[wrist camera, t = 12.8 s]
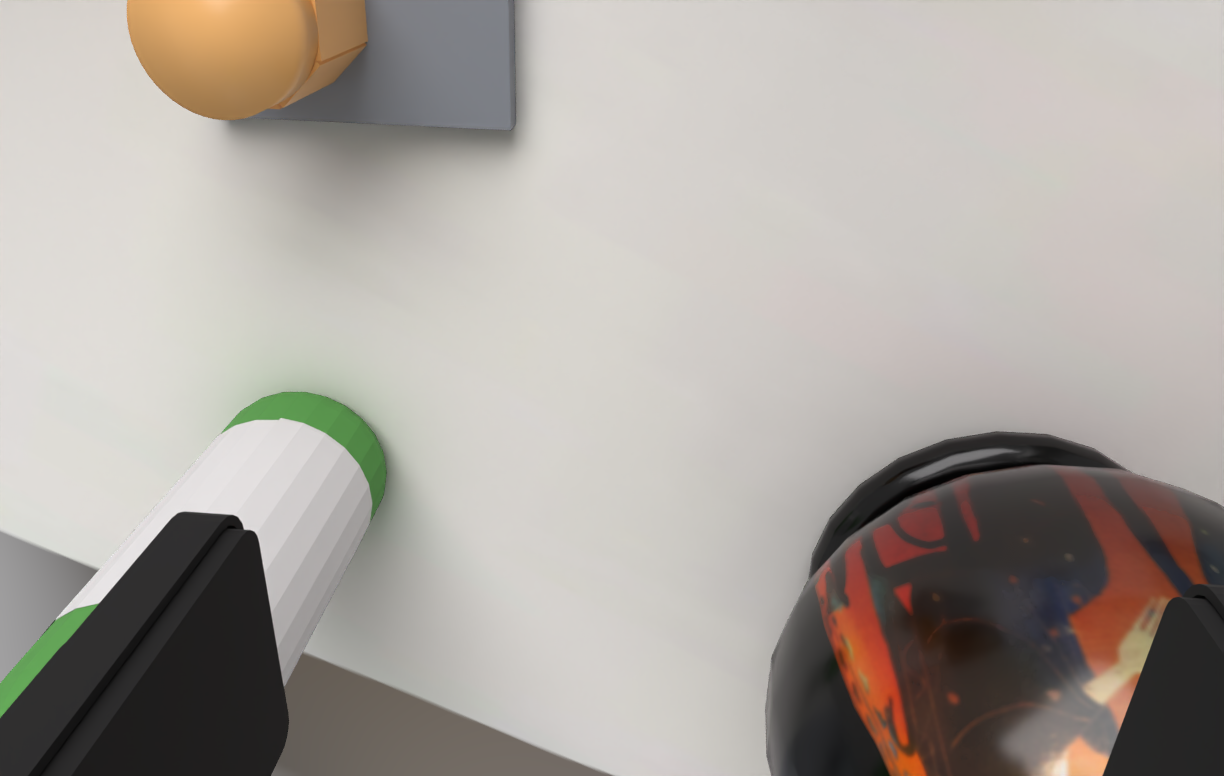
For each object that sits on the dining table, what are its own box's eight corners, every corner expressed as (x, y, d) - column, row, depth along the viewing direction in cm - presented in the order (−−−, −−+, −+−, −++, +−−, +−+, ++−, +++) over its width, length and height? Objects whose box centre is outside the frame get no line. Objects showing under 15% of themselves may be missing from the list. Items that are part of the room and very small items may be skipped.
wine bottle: (209, 392, 45) (-513, 1124, 18) (367, 371, 43) (-154, 1121, 17) (265, 529, 48) (-274, 1316, 21) (412, 513, 47) (39, 1324, 20)
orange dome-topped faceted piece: (359, -66, 34) (283, -58, 28) (371, 85, 36) (304, 124, 30) (216, -71, 34) (110, -65, 28) (238, 79, 37) (144, 116, 30)
